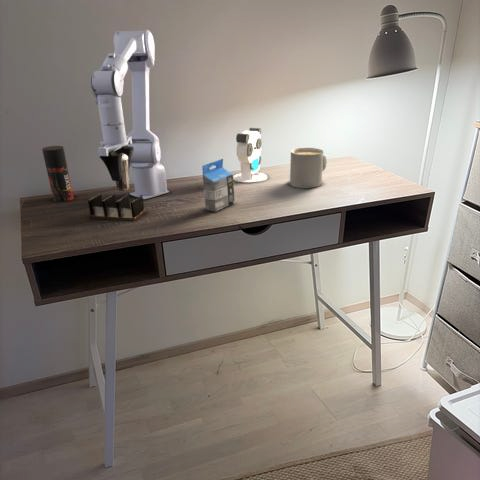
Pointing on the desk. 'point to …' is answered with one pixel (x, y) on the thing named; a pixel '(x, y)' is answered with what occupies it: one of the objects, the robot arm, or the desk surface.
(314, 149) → the coffee mug
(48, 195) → the desk surface
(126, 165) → the milkshake
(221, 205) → the label tape box
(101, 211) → the letter rack
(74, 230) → the desk surface
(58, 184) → the deodorant
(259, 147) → the panda figurine
